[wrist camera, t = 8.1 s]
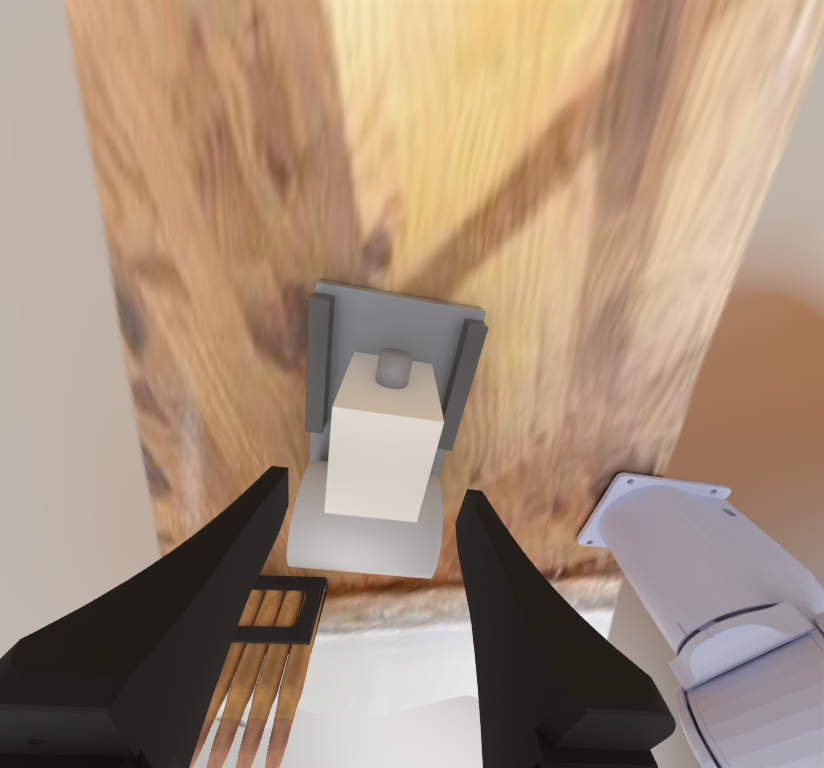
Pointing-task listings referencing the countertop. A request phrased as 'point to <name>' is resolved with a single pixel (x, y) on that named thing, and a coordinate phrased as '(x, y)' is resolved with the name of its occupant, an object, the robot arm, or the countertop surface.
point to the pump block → (383, 437)
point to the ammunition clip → (265, 667)
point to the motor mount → (326, 367)
